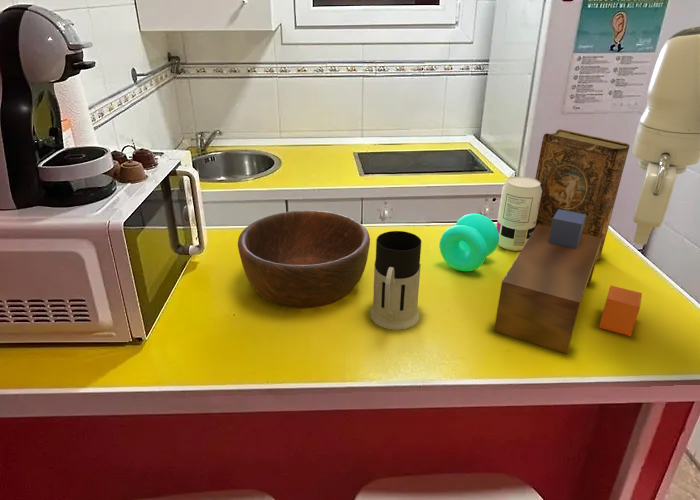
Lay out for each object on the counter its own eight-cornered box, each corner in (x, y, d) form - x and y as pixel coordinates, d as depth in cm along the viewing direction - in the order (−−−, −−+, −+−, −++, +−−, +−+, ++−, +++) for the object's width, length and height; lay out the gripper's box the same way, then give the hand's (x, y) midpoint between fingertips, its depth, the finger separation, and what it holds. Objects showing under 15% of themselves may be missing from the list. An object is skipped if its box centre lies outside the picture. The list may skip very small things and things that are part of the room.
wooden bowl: (253, 329, 89) (248, 277, 84) (234, 262, 110) (229, 218, 105) (388, 304, 96) (390, 255, 92) (345, 245, 117) (345, 203, 113)
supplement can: (487, 239, 121) (496, 178, 114) (516, 233, 123) (526, 173, 117) (509, 254, 114) (519, 190, 107) (539, 248, 117) (551, 185, 110)
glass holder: (422, 305, 96) (428, 232, 89) (411, 352, 84) (417, 272, 77) (375, 298, 98) (378, 226, 91) (358, 344, 86) (359, 265, 79)
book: (604, 256, 113) (633, 144, 102) (591, 264, 110) (621, 150, 99) (537, 231, 124) (557, 128, 113) (524, 238, 121) (543, 132, 110)
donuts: (435, 266, 109) (439, 222, 105) (454, 247, 117) (459, 206, 112) (480, 279, 104) (486, 235, 100) (497, 259, 112) (504, 217, 107)
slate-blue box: (580, 238, 99) (586, 214, 96) (576, 248, 95) (582, 224, 93) (553, 232, 101) (558, 208, 99) (548, 242, 97) (553, 218, 95)
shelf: (590, 282, 104) (602, 237, 99) (566, 354, 84) (579, 302, 79) (529, 267, 109) (537, 224, 104) (493, 331, 89) (501, 281, 85)
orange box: (633, 321, 92) (642, 293, 89) (630, 336, 88) (639, 307, 85) (602, 313, 94) (610, 285, 91) (598, 327, 90) (607, 298, 88)
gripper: (692, 168, 66) (661, 263, 73) (691, 133, 82) (666, 213, 89) (638, 160, 69) (612, 252, 76) (647, 127, 85) (625, 205, 91)
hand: (641, 230), depth 82 cm, fingers open, 8 cm apart
